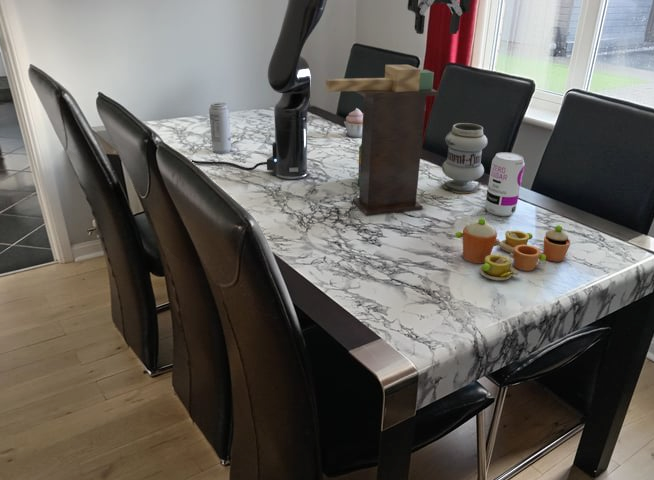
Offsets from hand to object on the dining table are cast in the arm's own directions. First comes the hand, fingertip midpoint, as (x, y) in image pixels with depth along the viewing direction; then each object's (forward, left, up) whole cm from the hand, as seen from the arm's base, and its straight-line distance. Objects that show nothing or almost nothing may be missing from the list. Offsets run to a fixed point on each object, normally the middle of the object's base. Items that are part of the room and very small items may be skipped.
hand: (436, 33), depth 128 cm
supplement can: (+20, +12, -43) cm, 49 cm away
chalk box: (-17, +19, -43) cm, 50 cm away
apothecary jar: (+7, +26, -43) cm, 51 cm away
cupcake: (-39, +67, -43) cm, 89 cm away
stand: (-9, +3, -43) cm, 44 cm away
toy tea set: (+26, -17, -43) cm, 53 cm away
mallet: (-14, -2, -13) cm, 19 cm away
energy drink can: (-72, +27, -43) cm, 88 cm away
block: (-4, +7, -13) cm, 15 cm away
